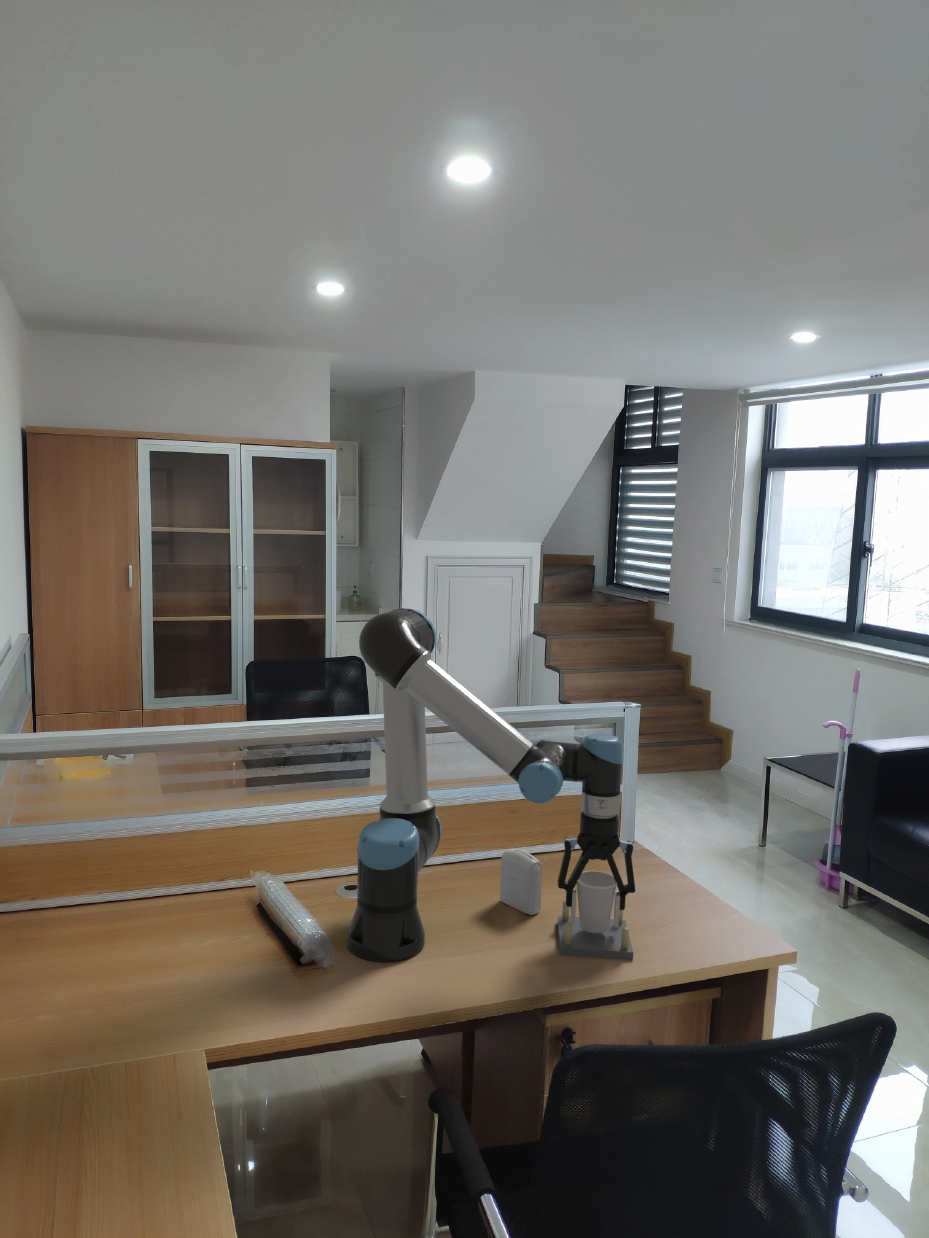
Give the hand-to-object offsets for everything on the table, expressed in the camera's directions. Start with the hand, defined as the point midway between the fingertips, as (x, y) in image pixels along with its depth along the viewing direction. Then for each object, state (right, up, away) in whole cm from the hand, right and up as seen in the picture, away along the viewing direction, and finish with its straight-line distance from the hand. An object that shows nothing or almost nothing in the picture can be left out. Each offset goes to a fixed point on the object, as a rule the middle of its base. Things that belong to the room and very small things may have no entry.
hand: (594, 922), depth 176 cm
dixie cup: (0, -1, 0) cm, 1 cm away
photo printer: (-14, -2, +15) cm, 21 cm away
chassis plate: (0, -4, 0) cm, 4 cm away
